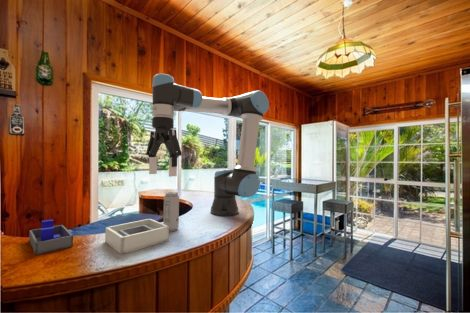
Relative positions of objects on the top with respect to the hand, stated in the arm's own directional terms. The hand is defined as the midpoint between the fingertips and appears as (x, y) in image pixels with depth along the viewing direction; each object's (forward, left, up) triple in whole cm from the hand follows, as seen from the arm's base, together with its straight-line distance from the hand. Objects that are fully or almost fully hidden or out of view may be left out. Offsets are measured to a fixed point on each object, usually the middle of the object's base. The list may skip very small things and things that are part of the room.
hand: (162, 175), depth 81 cm
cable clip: (+29, -20, -23) cm, 42 cm away
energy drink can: (-7, -5, -23) cm, 25 cm away
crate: (+8, -2, -23) cm, 24 cm away
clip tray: (+29, -20, -23) cm, 42 cm away
